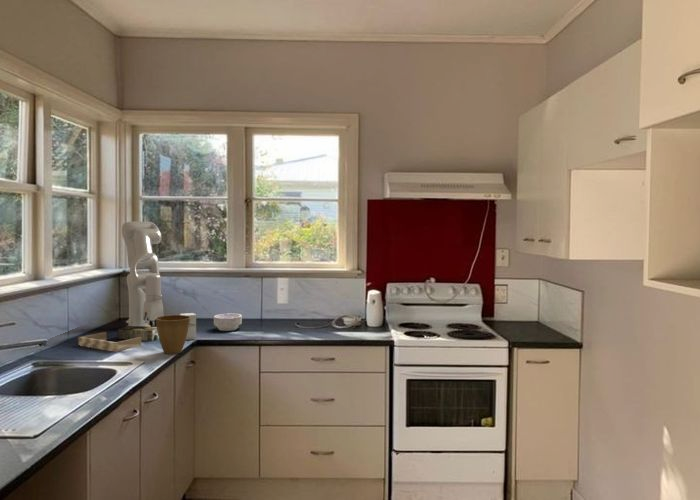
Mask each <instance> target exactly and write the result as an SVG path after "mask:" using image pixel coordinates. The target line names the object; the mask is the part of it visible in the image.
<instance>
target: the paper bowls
mask: <svg viewBox="0 0 700 500" xmlns="http://www.w3.org/2000/svg"><path fill="white" fill-rule="evenodd" d="M242 321H243V315H242V314H241V313H231V312H229V313H220V314H215V315H214V316H213V326H215V327H217V329H218V331H222V332H231V331H232V332H233V331H236V330H238V328H239V326H240V325H242V323H243V322H242Z"/></svg>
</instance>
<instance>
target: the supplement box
mask: <svg viewBox="0 0 700 500" xmlns="http://www.w3.org/2000/svg"><path fill="white" fill-rule="evenodd" d="M178 315H185V316H190V323H189V329H188V333H187V337H186V340H185V341H189V340H196V339H197V314H196V313H194V312H190V313H189V312H188V313H187V312H186V313H179V314H178Z"/></svg>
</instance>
